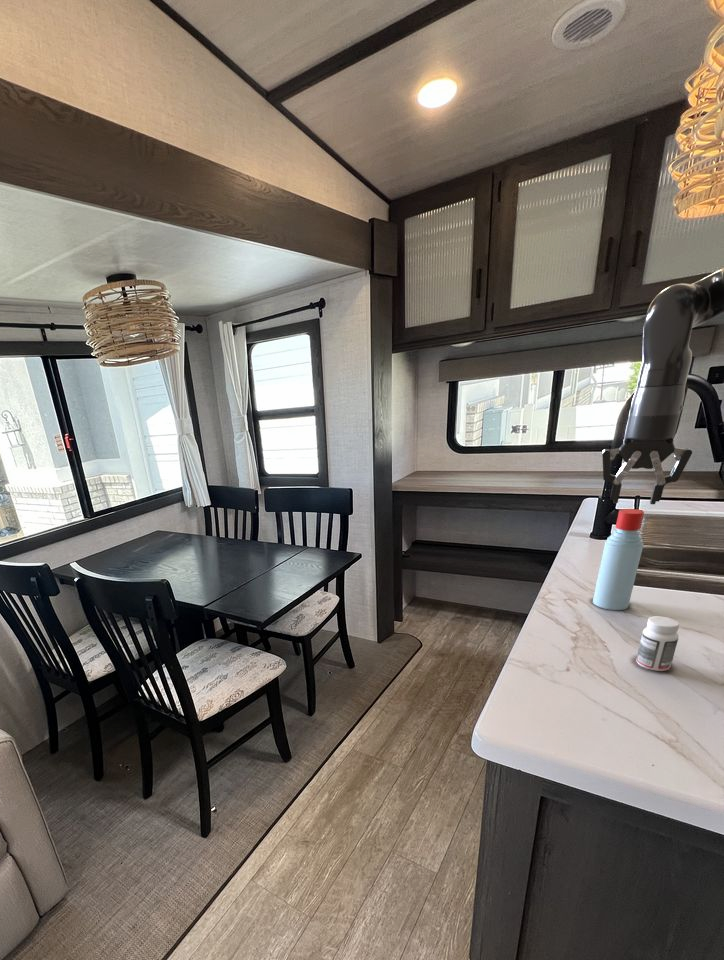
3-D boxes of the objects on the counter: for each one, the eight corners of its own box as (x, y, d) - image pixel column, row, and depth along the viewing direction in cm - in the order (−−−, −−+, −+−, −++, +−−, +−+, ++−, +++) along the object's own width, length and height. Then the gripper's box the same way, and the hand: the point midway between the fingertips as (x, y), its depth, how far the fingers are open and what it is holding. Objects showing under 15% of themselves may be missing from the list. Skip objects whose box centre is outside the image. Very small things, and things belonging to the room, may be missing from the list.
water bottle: (627, 600, 103) (650, 510, 95) (628, 612, 98) (652, 518, 90) (593, 596, 106) (611, 508, 98) (592, 607, 101) (611, 516, 93)
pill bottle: (667, 660, 81) (679, 616, 78) (673, 673, 78) (685, 629, 74) (633, 655, 84) (643, 613, 80) (637, 668, 80) (648, 625, 76)
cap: (639, 526, 96) (643, 509, 94) (640, 531, 93) (644, 514, 91) (615, 524, 98) (619, 508, 96) (615, 529, 95) (619, 513, 93)
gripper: (702, 408, 85) (677, 500, 92) (607, 412, 93) (591, 497, 100) (709, 411, 80) (682, 509, 87) (607, 415, 87) (590, 505, 94)
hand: (633, 502), depth 93 cm, fingers open, 5 cm apart
